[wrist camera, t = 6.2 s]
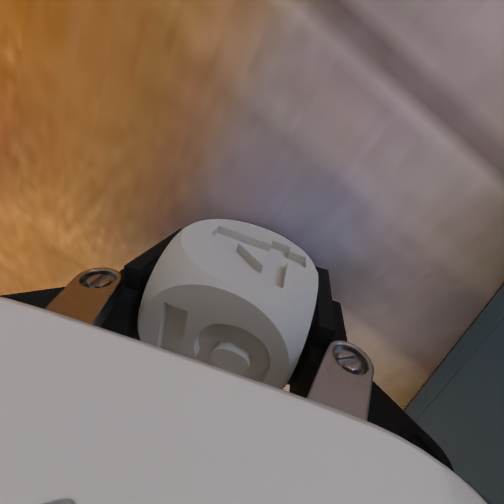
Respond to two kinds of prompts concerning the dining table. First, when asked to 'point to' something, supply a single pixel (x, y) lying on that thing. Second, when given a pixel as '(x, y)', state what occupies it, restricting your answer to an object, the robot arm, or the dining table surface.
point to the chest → (470, 403)
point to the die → (232, 299)
